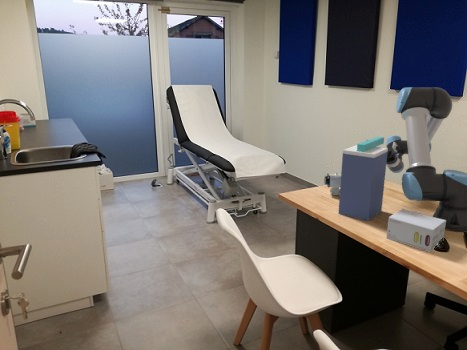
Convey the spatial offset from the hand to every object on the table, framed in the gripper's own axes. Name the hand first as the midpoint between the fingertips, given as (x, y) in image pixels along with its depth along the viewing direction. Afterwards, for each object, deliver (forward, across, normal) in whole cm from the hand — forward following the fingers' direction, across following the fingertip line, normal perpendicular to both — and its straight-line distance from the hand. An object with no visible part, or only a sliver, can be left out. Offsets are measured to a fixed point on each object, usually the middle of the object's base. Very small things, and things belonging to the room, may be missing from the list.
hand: (379, 142), depth 185 cm
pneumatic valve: (-14, +20, -27) cm, 36 cm away
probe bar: (+10, 0, -6) cm, 12 cm away
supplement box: (+13, -29, -43) cm, 53 cm away
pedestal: (0, 0, -35) cm, 35 cm away
